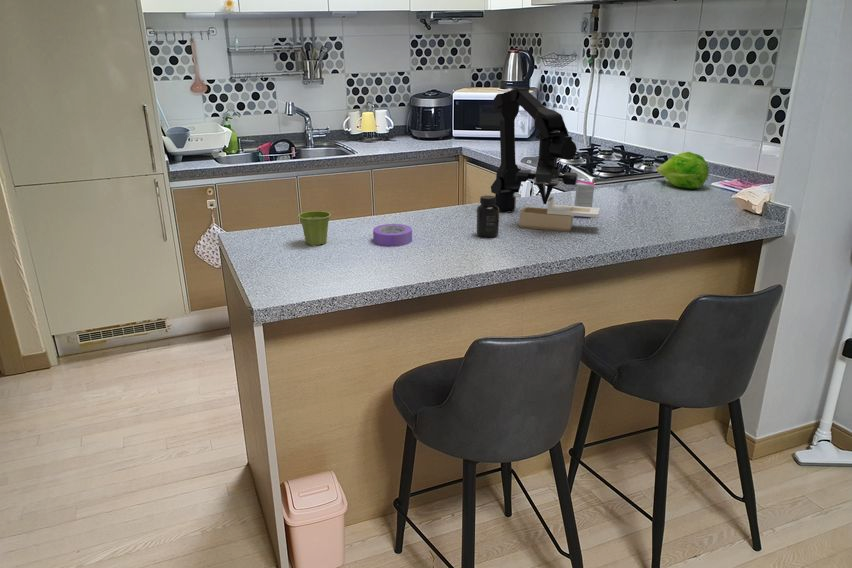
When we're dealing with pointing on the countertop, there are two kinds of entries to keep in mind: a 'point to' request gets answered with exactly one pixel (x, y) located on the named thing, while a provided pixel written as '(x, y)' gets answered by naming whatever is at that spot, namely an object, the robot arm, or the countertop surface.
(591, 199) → the supplement box
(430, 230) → the countertop surface
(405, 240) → the masking tape
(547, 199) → the robot arm
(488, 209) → the supplement bottle
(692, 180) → the lettuce
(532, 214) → the base
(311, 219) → the plant pot
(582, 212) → the lid
